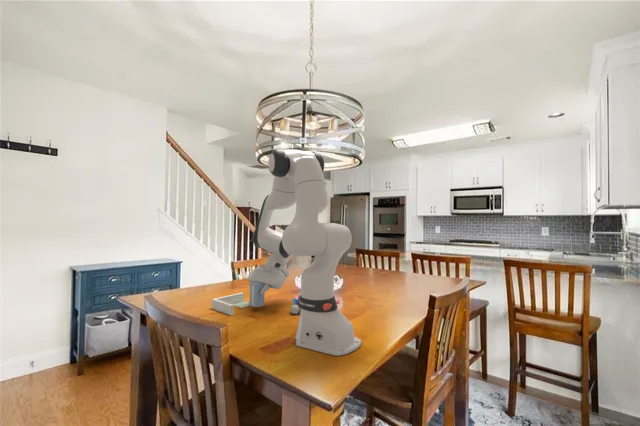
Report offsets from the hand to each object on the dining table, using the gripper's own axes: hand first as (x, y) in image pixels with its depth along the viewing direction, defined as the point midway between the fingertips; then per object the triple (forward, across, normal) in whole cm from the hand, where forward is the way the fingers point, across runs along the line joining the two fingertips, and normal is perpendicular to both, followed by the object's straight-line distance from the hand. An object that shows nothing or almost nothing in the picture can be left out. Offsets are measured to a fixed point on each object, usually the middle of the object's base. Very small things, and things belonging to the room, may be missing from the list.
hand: (255, 292), depth 138 cm
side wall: (+13, -8, -3) cm, 15 cm away
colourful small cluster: (-2, +17, +13) cm, 22 cm away
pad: (+4, -10, +6) cm, 12 cm away
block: (+3, 0, +4) cm, 5 cm away
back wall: (+8, -15, +2) cm, 17 cm away
